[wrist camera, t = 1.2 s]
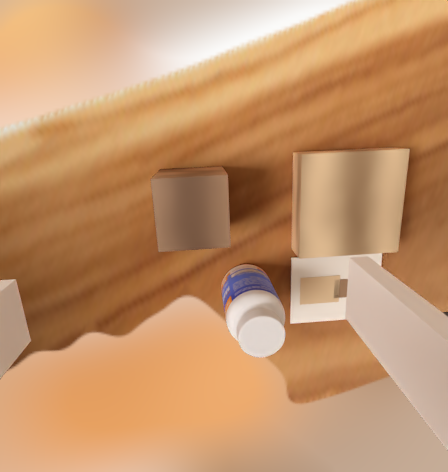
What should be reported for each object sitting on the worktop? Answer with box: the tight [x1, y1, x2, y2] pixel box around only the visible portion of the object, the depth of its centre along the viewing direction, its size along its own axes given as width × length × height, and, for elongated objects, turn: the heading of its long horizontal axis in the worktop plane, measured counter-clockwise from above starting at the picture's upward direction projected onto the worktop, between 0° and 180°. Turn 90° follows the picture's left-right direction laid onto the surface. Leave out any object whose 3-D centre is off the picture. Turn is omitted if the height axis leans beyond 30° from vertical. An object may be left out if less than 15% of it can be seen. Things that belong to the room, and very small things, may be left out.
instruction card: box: [290, 253, 382, 324], centre depth 38 cm, size 10×8×1 cm
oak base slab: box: [291, 147, 410, 259], centre depth 34 cm, size 10×10×3 cm
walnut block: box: [151, 166, 231, 252], centre depth 31 cm, size 6×6×7 cm
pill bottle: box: [221, 264, 285, 357], centre depth 33 cm, size 5×5×10 cm
